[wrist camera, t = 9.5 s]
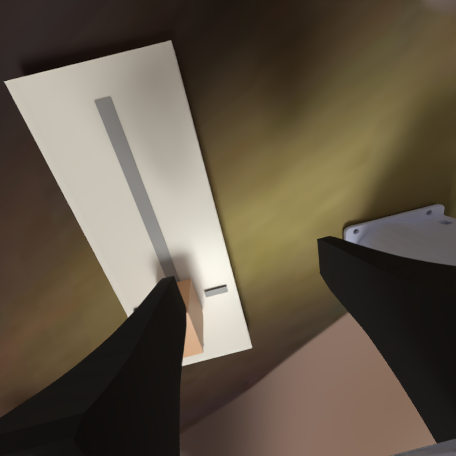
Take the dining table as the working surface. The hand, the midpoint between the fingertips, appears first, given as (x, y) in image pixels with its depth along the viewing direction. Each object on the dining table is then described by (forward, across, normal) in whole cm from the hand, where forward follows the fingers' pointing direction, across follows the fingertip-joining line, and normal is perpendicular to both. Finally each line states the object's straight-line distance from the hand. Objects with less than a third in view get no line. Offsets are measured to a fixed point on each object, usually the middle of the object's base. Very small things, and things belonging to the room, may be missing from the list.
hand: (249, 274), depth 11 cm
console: (+9, +6, +1) cm, 11 cm away
